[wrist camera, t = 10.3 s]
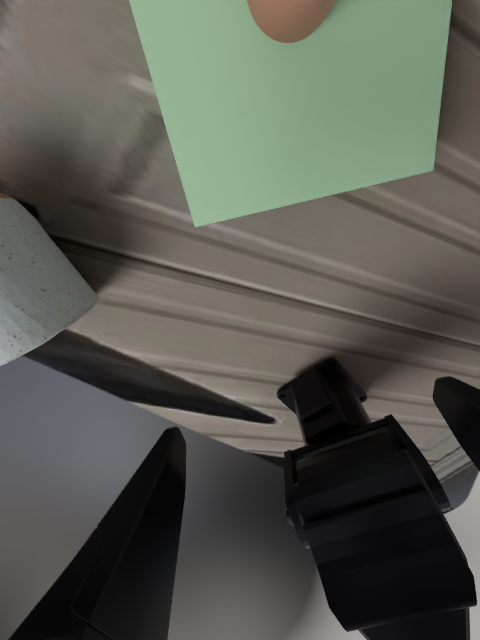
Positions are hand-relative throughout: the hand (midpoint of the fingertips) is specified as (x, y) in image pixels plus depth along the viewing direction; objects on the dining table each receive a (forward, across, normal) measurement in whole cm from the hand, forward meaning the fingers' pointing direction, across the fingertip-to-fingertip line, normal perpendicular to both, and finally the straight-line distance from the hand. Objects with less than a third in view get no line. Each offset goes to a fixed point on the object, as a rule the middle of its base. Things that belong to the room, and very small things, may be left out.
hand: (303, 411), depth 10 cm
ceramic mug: (+13, +17, -4) cm, 22 cm away
